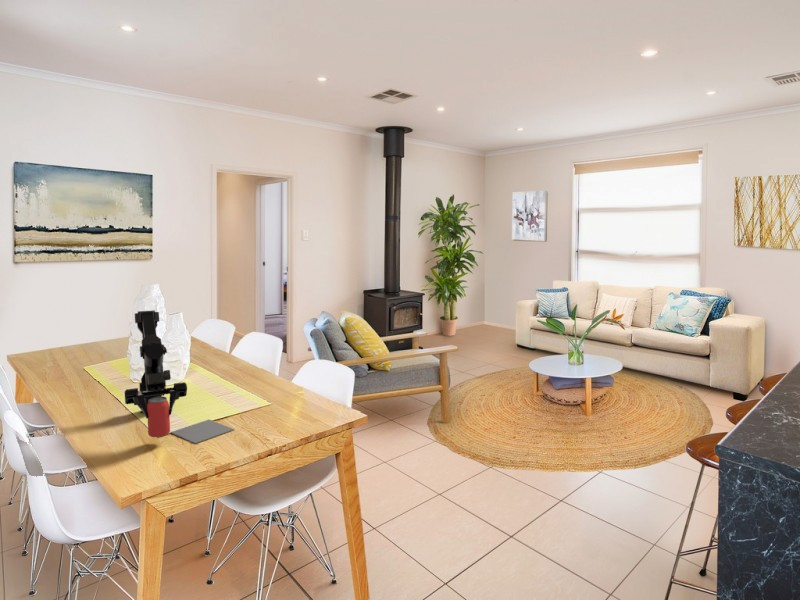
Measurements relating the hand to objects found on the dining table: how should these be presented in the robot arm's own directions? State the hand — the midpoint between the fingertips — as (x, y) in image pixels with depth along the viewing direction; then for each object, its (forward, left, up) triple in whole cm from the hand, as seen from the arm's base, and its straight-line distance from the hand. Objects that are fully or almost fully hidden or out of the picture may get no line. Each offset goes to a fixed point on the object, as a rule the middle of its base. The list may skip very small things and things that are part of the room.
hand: (158, 416), depth 168 cm
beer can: (-1, +1, -7) cm, 7 cm away
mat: (+6, +14, -10) cm, 18 cm away
